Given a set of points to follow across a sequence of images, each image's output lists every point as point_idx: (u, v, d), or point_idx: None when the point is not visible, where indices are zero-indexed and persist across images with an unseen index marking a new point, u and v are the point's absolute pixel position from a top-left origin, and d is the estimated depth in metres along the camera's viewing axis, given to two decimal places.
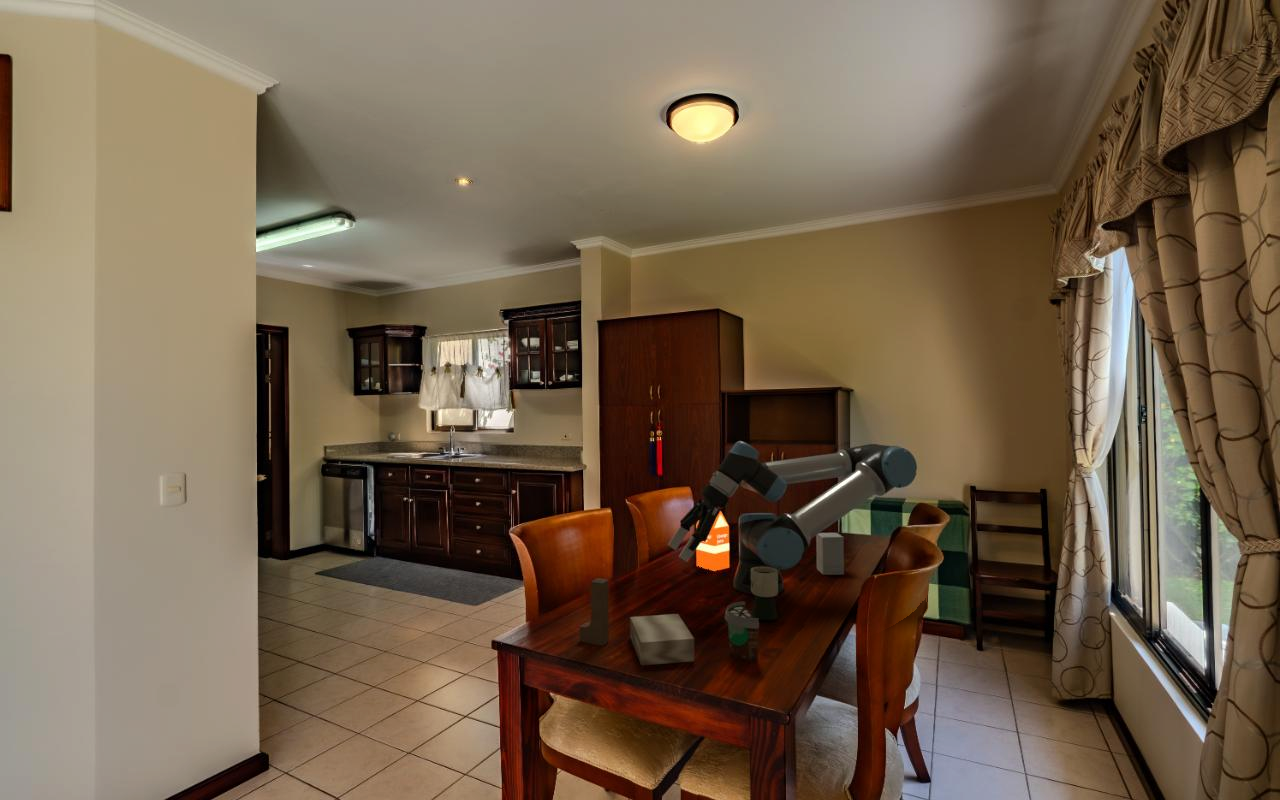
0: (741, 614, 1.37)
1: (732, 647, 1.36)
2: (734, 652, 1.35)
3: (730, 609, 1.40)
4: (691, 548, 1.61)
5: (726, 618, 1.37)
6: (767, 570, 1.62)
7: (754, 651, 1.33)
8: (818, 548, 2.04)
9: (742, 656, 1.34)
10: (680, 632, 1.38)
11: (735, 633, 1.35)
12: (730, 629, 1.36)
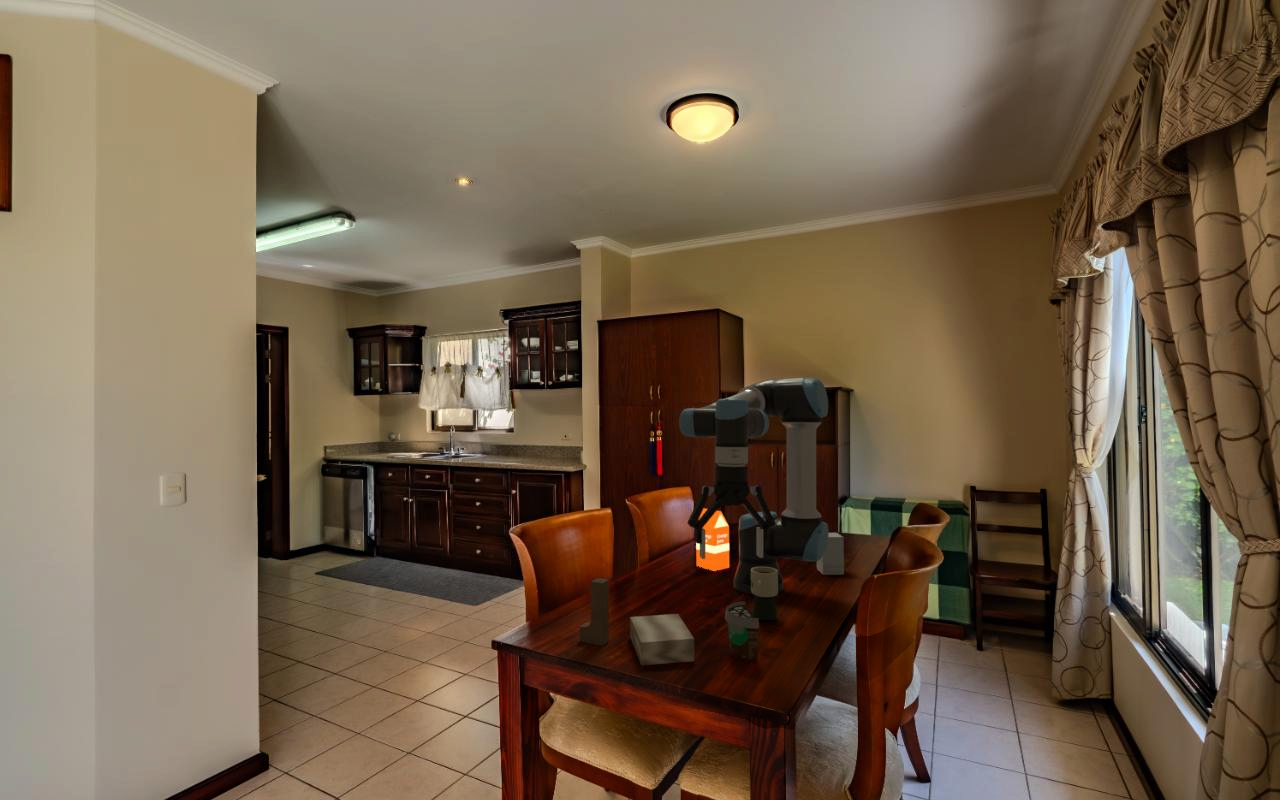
0: (741, 614, 1.37)
1: (732, 647, 1.36)
2: (734, 652, 1.35)
3: (730, 609, 1.40)
4: None
5: (726, 618, 1.37)
6: (767, 570, 1.62)
7: (754, 651, 1.33)
8: None
9: (742, 656, 1.34)
10: (680, 632, 1.38)
11: (735, 633, 1.35)
12: (730, 629, 1.36)
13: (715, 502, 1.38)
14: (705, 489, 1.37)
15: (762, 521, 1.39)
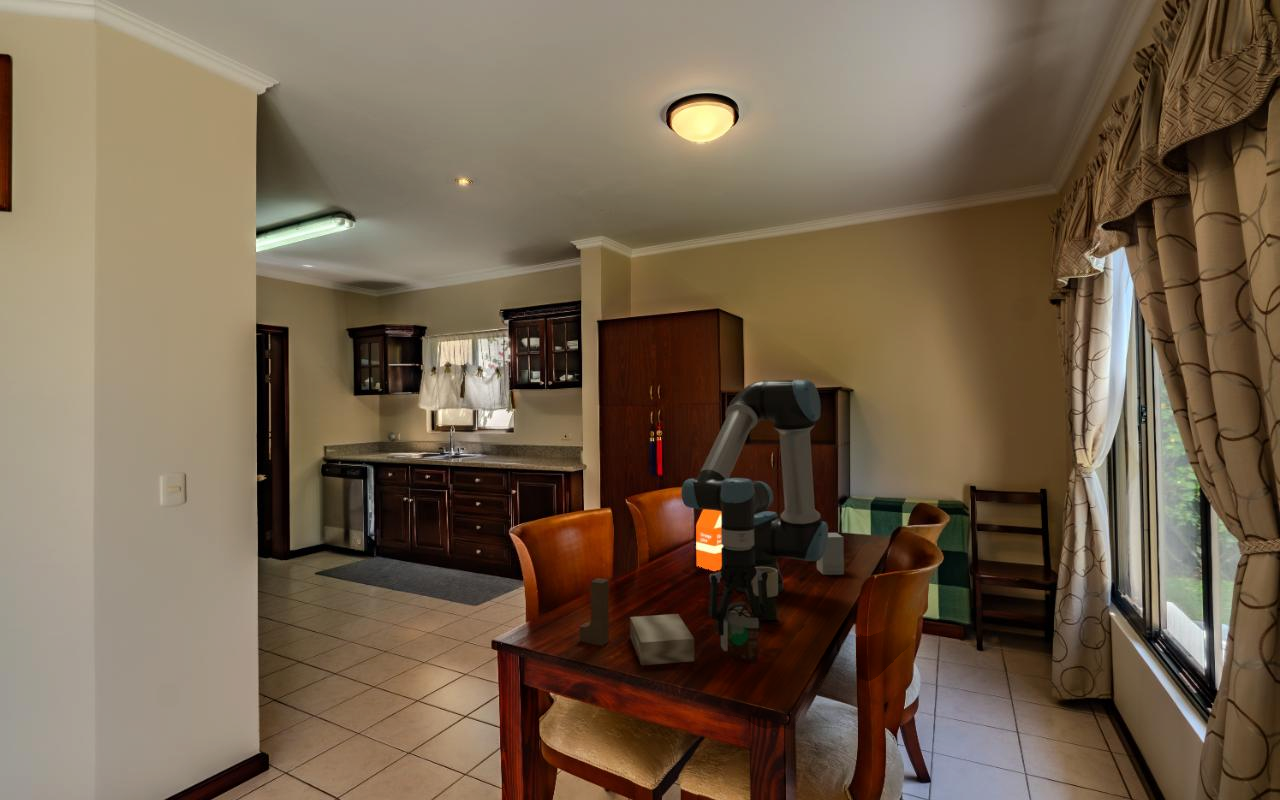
0: (741, 614, 1.37)
1: (732, 647, 1.36)
2: (734, 652, 1.35)
3: (730, 609, 1.40)
4: None
5: (726, 618, 1.37)
6: (767, 570, 1.62)
7: (754, 651, 1.33)
8: None
9: (742, 656, 1.34)
10: (680, 632, 1.38)
11: (735, 632, 1.35)
12: (730, 629, 1.36)
13: (726, 588, 1.37)
14: (713, 579, 1.35)
15: (757, 610, 1.37)
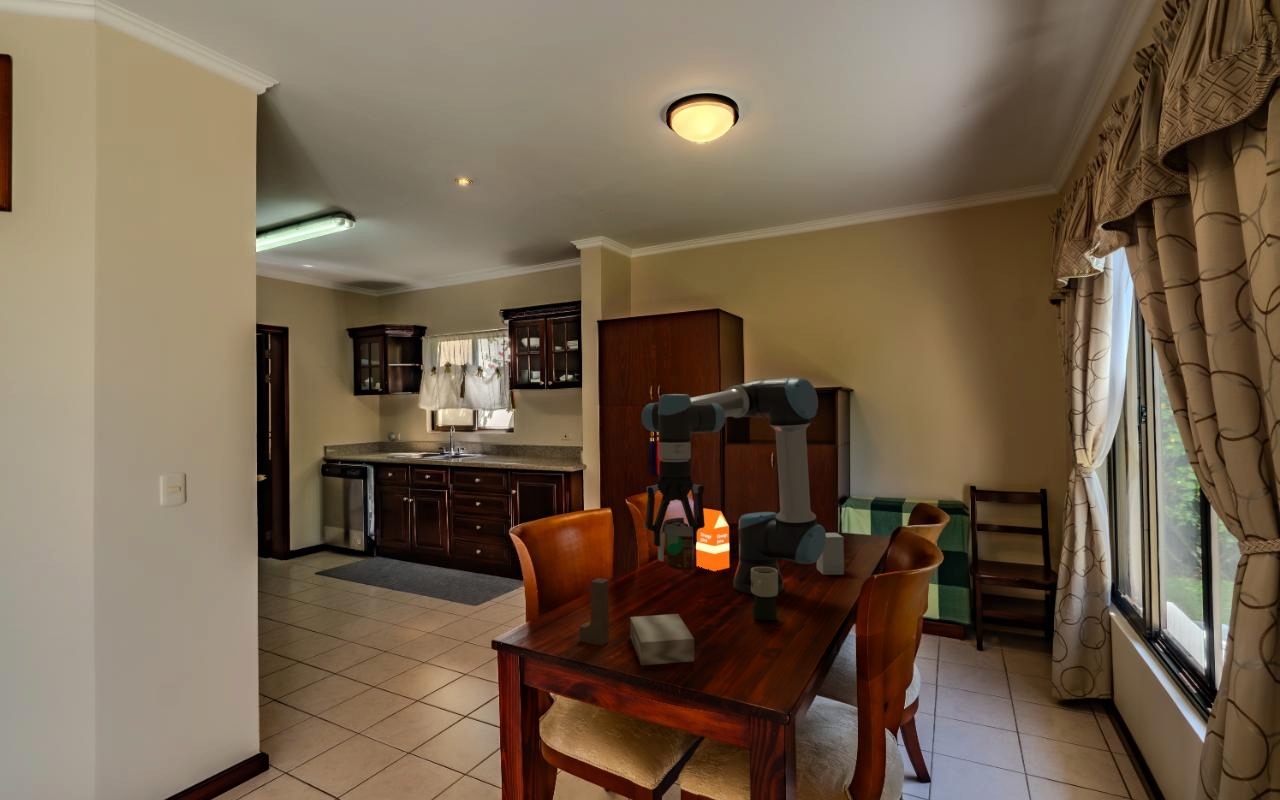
0: (678, 526, 1.40)
1: (668, 558, 1.38)
2: (670, 562, 1.38)
3: (668, 523, 1.43)
4: None
5: (663, 530, 1.39)
6: (767, 570, 1.62)
7: (689, 560, 1.35)
8: None
9: (677, 565, 1.36)
10: (680, 632, 1.38)
11: (671, 543, 1.37)
12: (666, 540, 1.39)
13: (663, 501, 1.39)
14: (649, 490, 1.38)
15: (693, 523, 1.40)
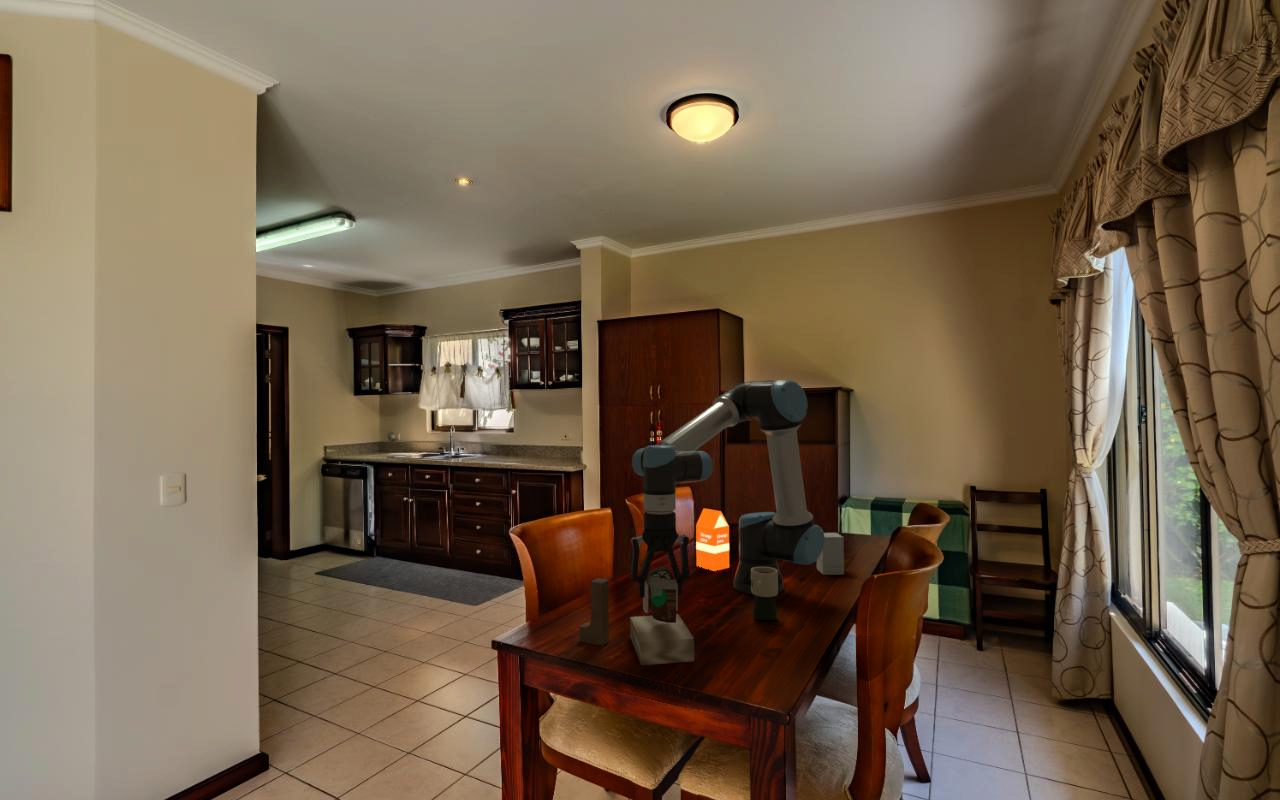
0: (662, 577, 1.40)
1: (653, 609, 1.39)
2: (654, 614, 1.39)
3: (653, 573, 1.43)
4: None
5: (647, 581, 1.40)
6: (767, 570, 1.62)
7: (673, 612, 1.36)
8: None
9: (661, 617, 1.37)
10: (680, 632, 1.38)
11: (655, 595, 1.38)
12: (651, 591, 1.39)
13: (648, 552, 1.40)
14: (634, 542, 1.39)
15: (678, 574, 1.40)
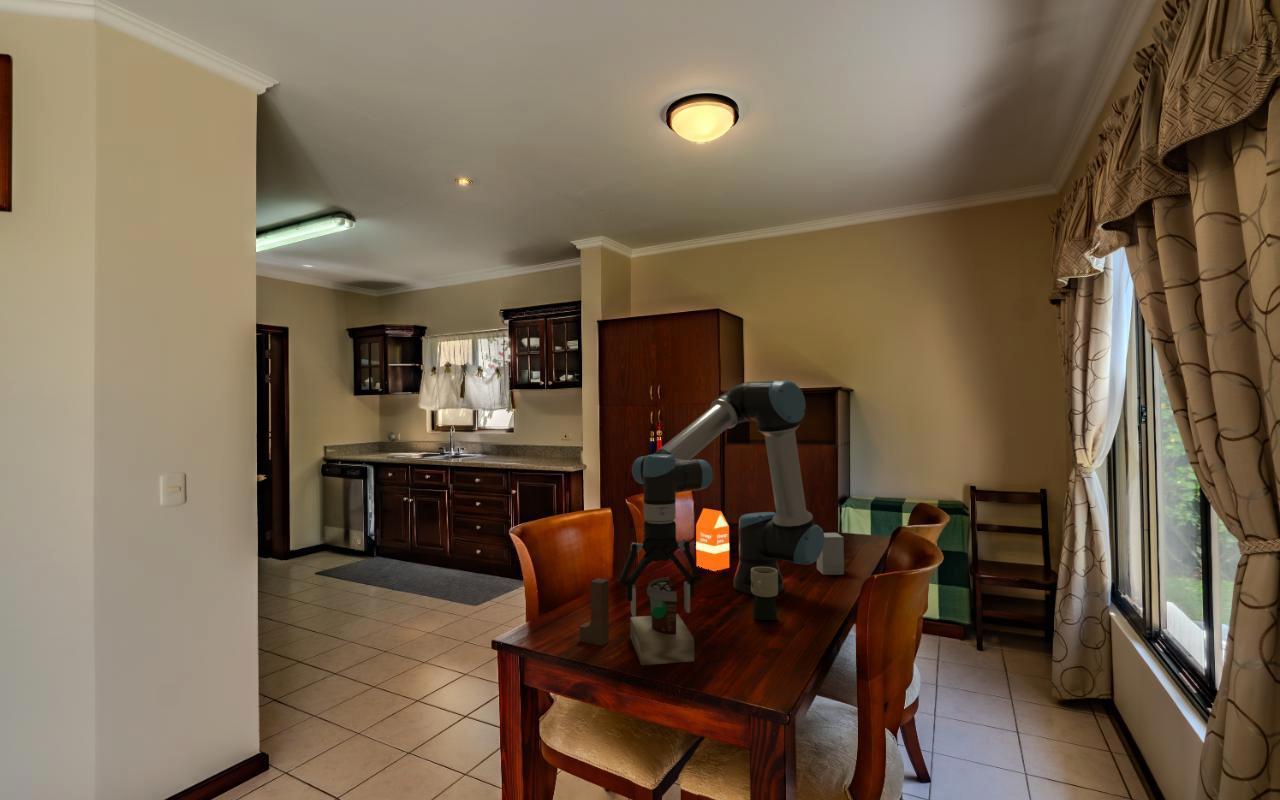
0: (662, 588, 1.40)
1: (653, 620, 1.39)
2: (654, 625, 1.39)
3: (653, 584, 1.44)
4: None
5: (647, 592, 1.40)
6: (767, 570, 1.62)
7: (673, 624, 1.36)
8: None
9: (661, 629, 1.37)
10: (680, 632, 1.38)
11: (655, 606, 1.38)
12: (651, 603, 1.39)
13: (644, 558, 1.40)
14: (633, 547, 1.39)
15: (689, 576, 1.41)
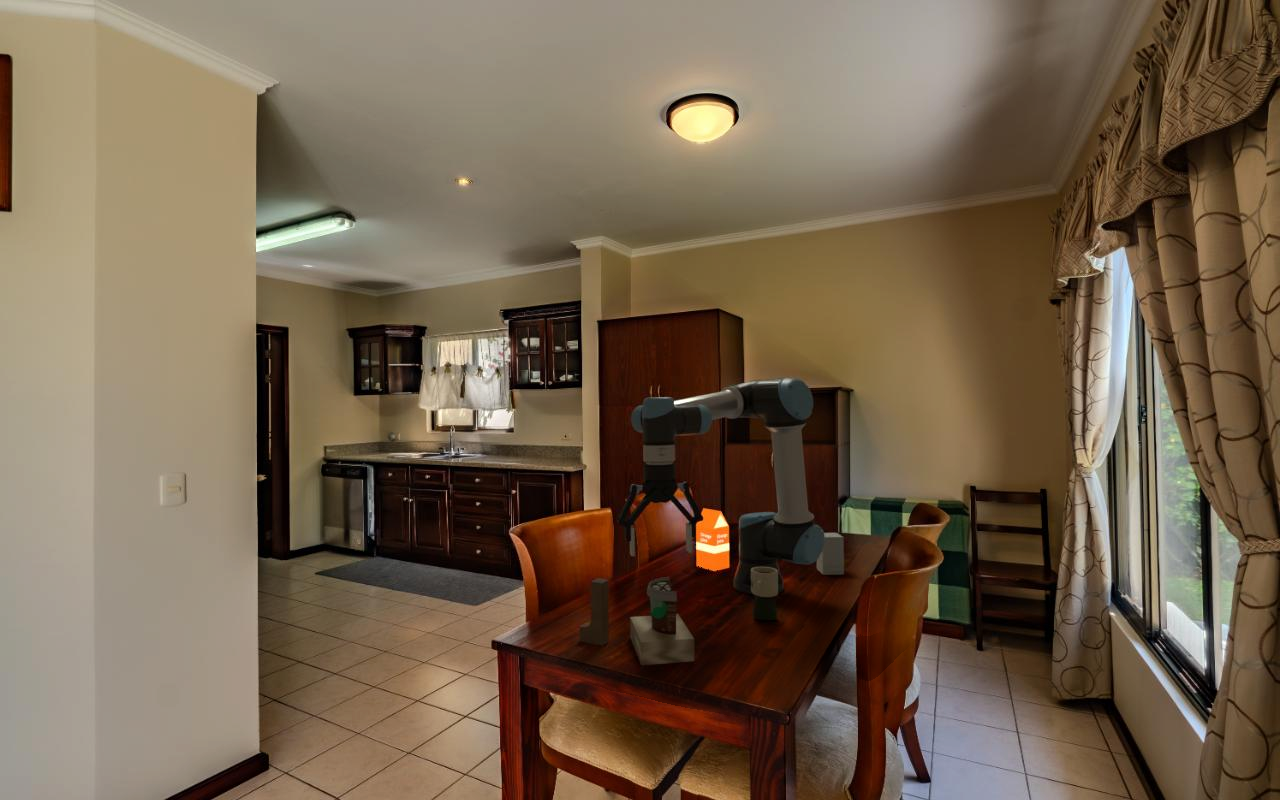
0: (662, 588, 1.40)
1: (653, 620, 1.39)
2: (654, 625, 1.39)
3: (653, 584, 1.44)
4: None
5: (647, 592, 1.40)
6: (767, 570, 1.62)
7: (673, 624, 1.36)
8: None
9: (661, 629, 1.37)
10: (680, 632, 1.38)
11: (655, 606, 1.38)
12: (651, 603, 1.39)
13: (643, 500, 1.40)
14: (633, 487, 1.39)
15: (690, 517, 1.41)
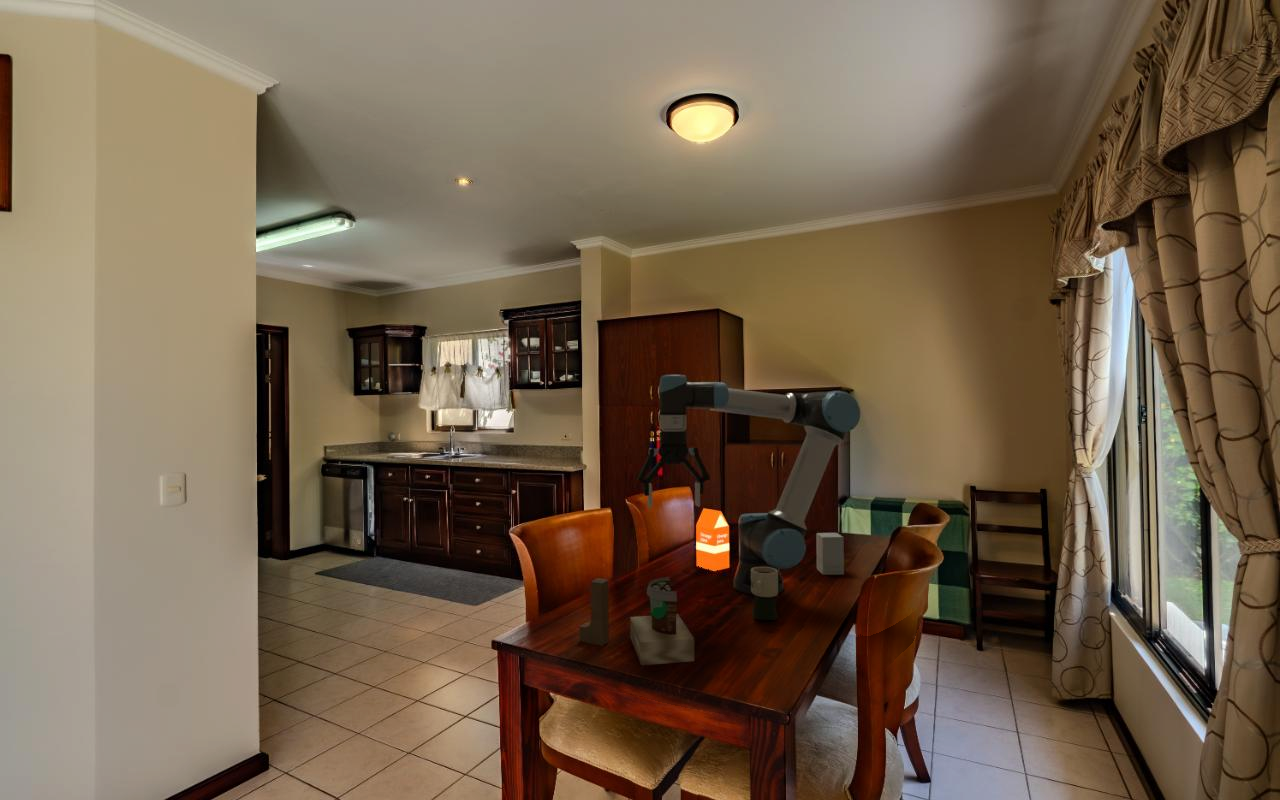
0: (662, 588, 1.40)
1: (653, 620, 1.39)
2: (654, 625, 1.39)
3: (653, 584, 1.44)
4: None
5: (647, 592, 1.40)
6: (767, 570, 1.62)
7: (673, 624, 1.36)
8: (818, 548, 2.04)
9: (661, 629, 1.37)
10: (680, 632, 1.38)
11: (655, 606, 1.38)
12: (651, 603, 1.39)
13: (660, 461, 1.66)
14: (651, 450, 1.65)
15: (699, 476, 1.67)
